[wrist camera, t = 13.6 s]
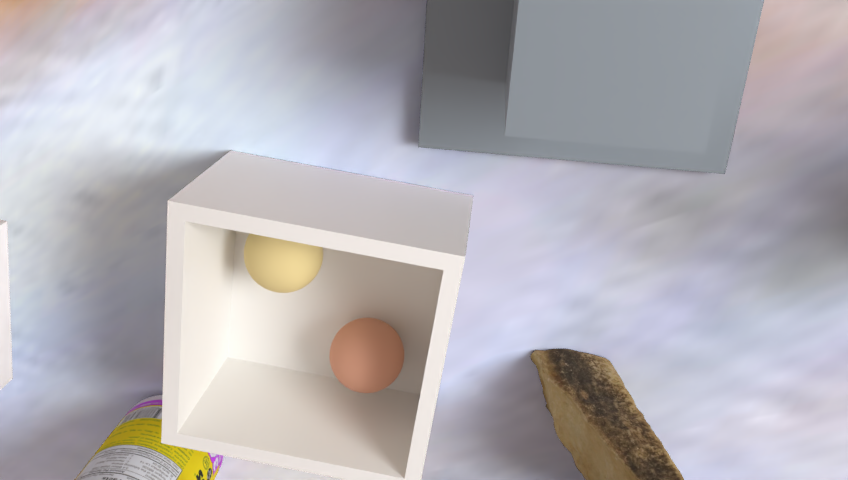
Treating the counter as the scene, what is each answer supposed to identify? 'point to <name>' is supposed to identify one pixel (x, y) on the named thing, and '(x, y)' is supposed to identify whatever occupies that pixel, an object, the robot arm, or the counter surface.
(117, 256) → the counter surface
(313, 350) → the storage box
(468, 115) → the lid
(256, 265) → the ball mustard
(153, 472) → the supplement bottle
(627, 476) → the rock
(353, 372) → the ball terracotta
